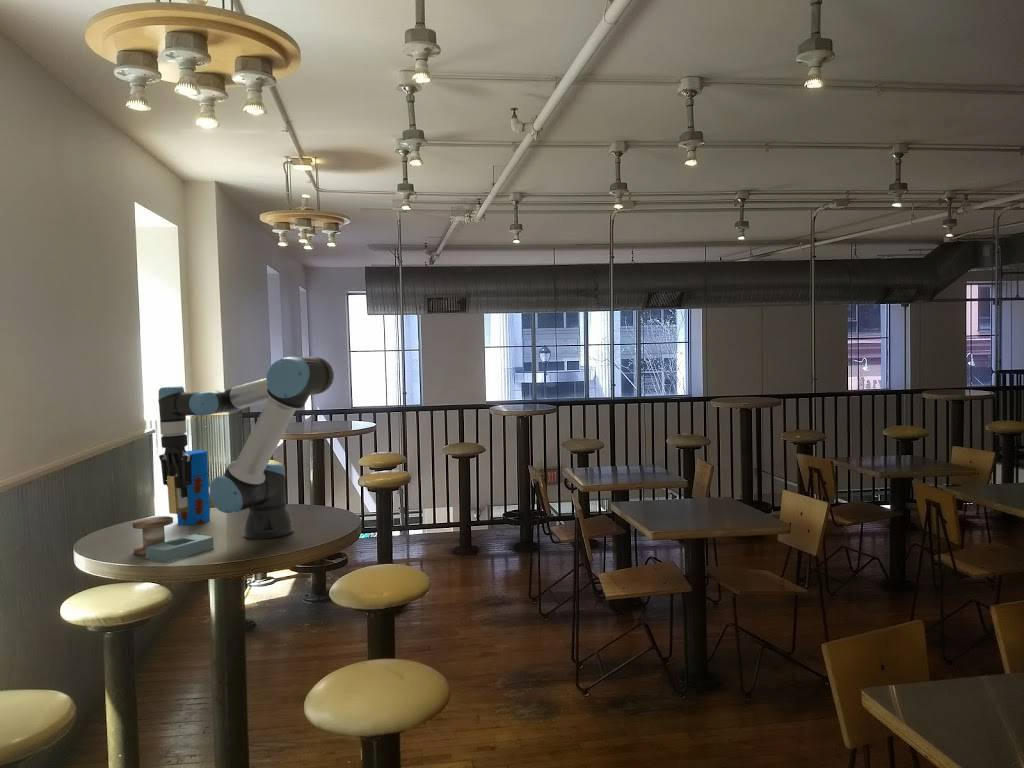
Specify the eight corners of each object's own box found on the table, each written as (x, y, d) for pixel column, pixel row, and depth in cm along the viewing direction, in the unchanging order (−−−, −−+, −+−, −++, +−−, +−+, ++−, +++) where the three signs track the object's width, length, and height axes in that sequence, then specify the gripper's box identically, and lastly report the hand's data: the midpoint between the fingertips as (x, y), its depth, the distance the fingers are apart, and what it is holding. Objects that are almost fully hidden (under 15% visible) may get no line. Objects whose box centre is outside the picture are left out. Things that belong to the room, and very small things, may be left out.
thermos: (215, 521, 251) (211, 451, 250) (183, 526, 244) (180, 455, 243) (203, 516, 259) (200, 449, 258) (173, 522, 252) (169, 452, 251)
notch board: (194, 545, 218) (193, 534, 218) (213, 548, 213) (213, 537, 213) (146, 558, 204) (145, 547, 204) (165, 562, 199) (165, 550, 199)
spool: (182, 547, 215) (180, 518, 215) (148, 557, 206) (147, 526, 205) (159, 544, 220) (158, 515, 220) (125, 553, 211) (124, 522, 211)
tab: (181, 510, 228) (179, 473, 228) (188, 511, 227) (186, 474, 226) (169, 513, 224) (166, 476, 224) (176, 514, 223) (173, 476, 222)
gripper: (201, 433, 224) (206, 506, 225) (168, 433, 232) (172, 503, 233) (180, 436, 217) (185, 511, 218) (147, 435, 225) (151, 508, 226)
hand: (178, 507), depth 225 cm, fingers closed on tab, 3 cm apart
